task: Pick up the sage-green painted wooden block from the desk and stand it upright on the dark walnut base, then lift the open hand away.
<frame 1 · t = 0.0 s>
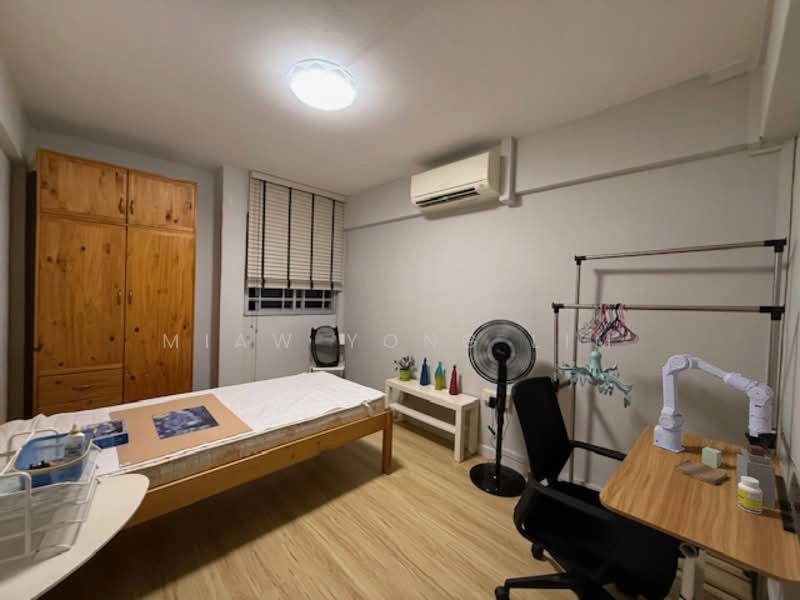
hand: (759, 451, 124), 10 cm above the table, fingers open, 7 cm apart
walnut base: (700, 473, 126), on the table
grey tall open box: (754, 500, 110), on the table
supplement bottle: (749, 509, 105), on the table
sage block: (711, 464, 134), on the table
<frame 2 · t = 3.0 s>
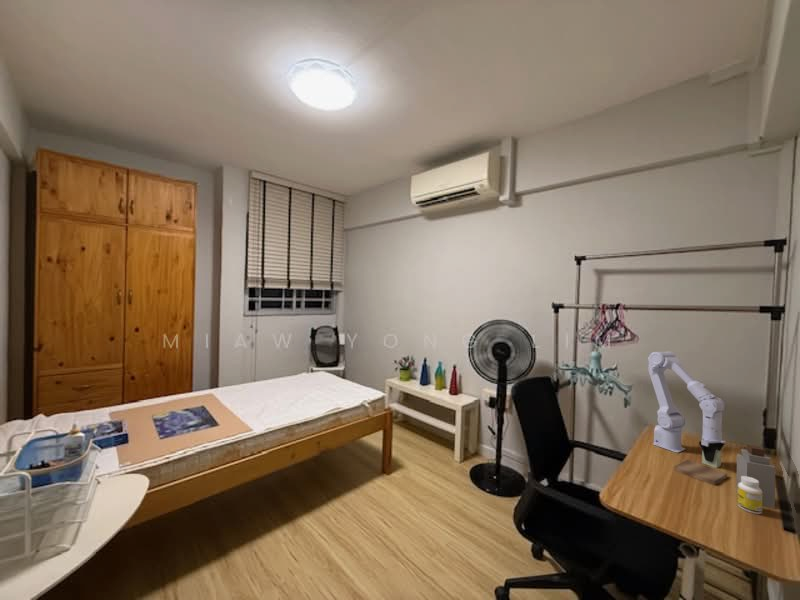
hand: (711, 459, 134), 2 cm above the table, fingers closed on sage block, 4 cm apart
sage block: (711, 464, 134), on the table, touching gripper
everything else where it was.
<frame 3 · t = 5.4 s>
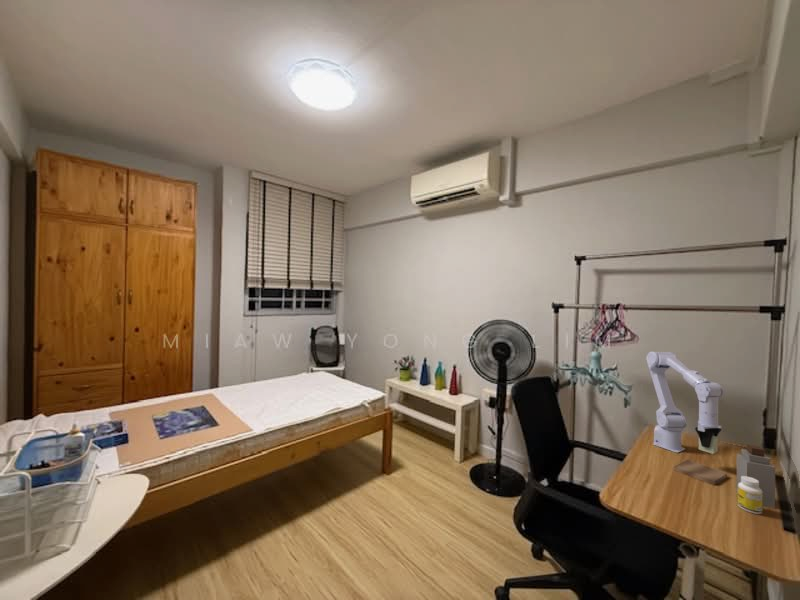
hand: (708, 445, 131), 9 cm above the table, fingers closed on sage block, 4 cm apart
sage block: (708, 450, 131), point 7 cm above the table, touching gripper
everything else where it was.
when the fingers open (4 cm above the table, at t = 8.0 s): sage block stays where it is, resting on walnut base.
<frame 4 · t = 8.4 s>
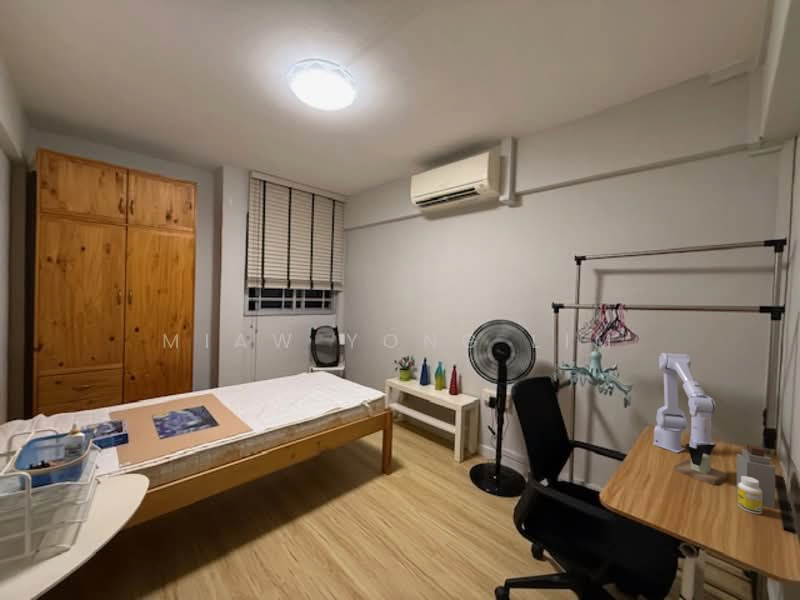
hand: (700, 462, 126), 4 cm above the table, fingers open, 7 cm apart
sage block: (700, 469, 126), point 1 cm above the table, touching walnut base
everything else where it was.
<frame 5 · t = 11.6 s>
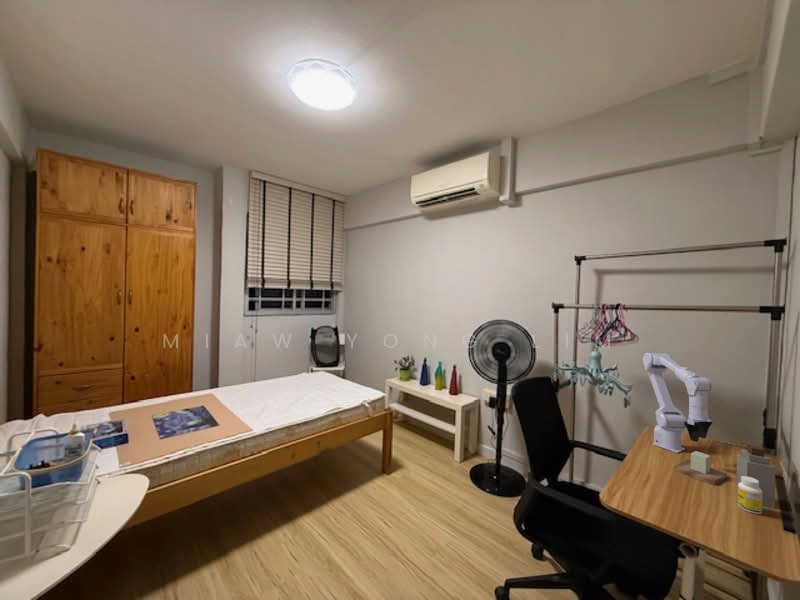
hand: (698, 439, 134), 10 cm above the table, fingers open, 7 cm apart
nothing on the table moved.
at the end: sage block inside the target area on the walnut base (0.1 cm from its centre), point 1.5 cm above the walnut base's base; sage block tilted 0°; the gripper is holding nothing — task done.
